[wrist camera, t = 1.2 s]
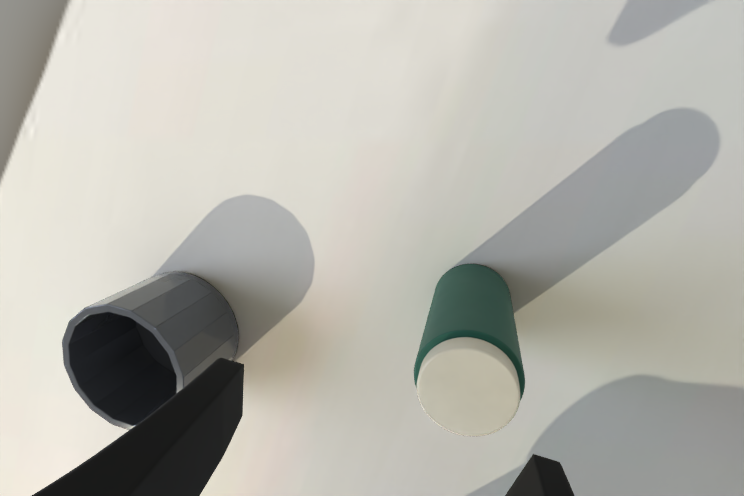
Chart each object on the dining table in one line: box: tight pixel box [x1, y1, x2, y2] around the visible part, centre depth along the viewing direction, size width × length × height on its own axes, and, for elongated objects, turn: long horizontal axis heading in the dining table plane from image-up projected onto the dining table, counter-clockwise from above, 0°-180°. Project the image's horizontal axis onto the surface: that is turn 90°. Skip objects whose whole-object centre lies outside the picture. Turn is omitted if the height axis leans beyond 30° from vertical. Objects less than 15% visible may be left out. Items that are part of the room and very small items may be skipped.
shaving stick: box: [414, 264, 525, 436], centre depth 17 cm, size 4×4×8 cm
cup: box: [62, 272, 238, 430], centre depth 23 cm, size 7×7×5 cm
